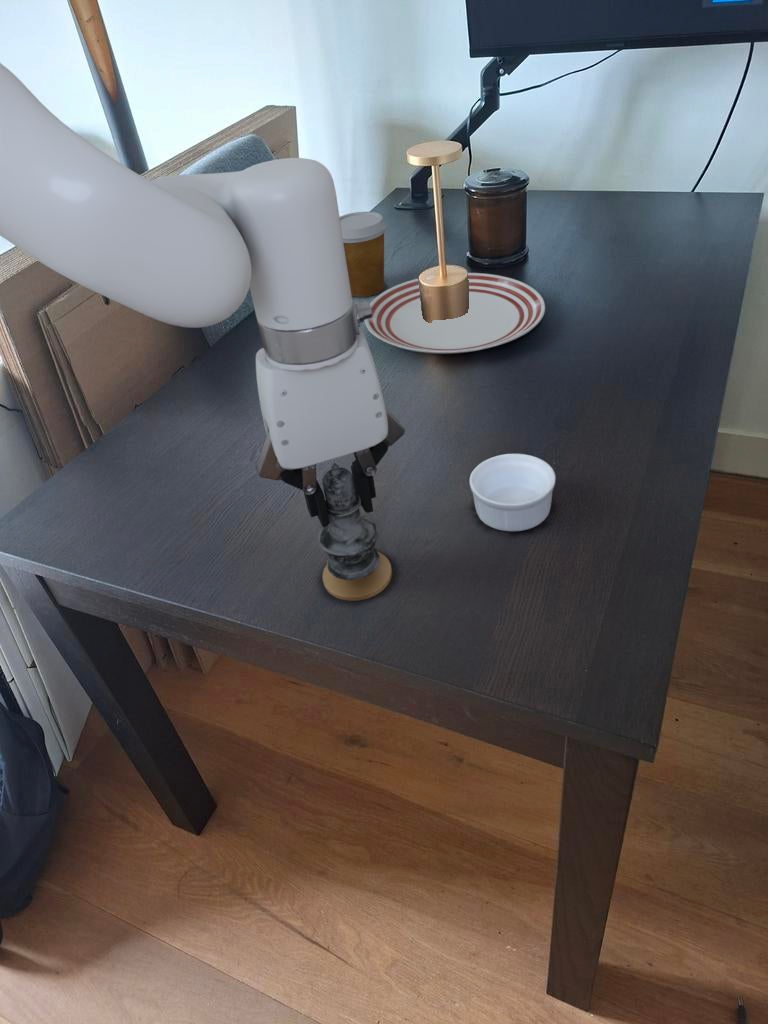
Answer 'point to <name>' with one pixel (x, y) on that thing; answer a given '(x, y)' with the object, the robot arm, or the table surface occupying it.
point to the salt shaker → (347, 529)
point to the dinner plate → (489, 322)
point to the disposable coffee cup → (364, 251)
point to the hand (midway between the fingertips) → (343, 509)
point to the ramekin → (512, 491)
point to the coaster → (359, 582)
